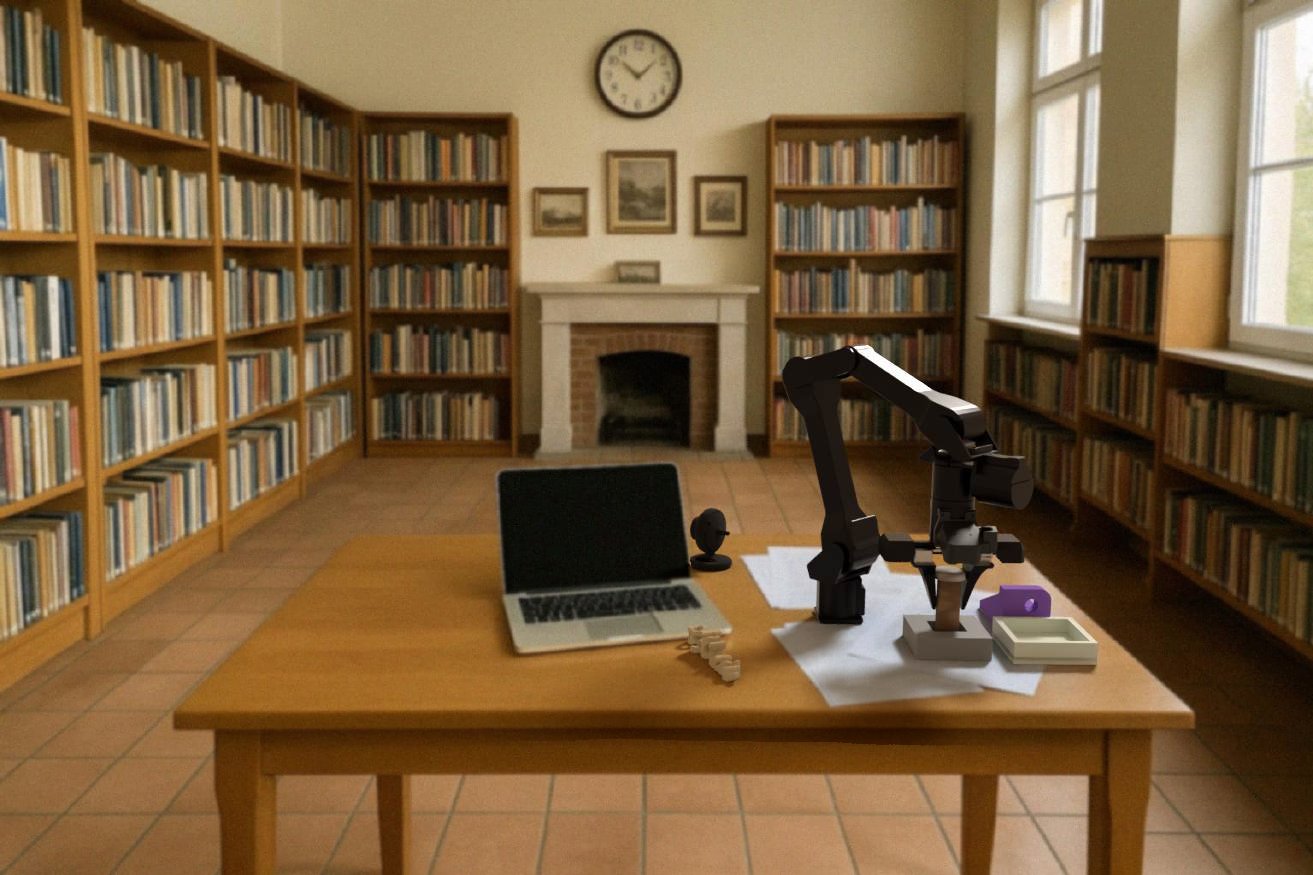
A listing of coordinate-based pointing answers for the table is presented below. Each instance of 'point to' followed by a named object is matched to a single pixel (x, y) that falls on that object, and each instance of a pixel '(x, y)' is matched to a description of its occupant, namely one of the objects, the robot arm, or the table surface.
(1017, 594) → the bracket
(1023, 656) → the tray
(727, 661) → the decorative script
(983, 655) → the holder
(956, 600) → the peg
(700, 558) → the webcam
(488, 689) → the table surface
